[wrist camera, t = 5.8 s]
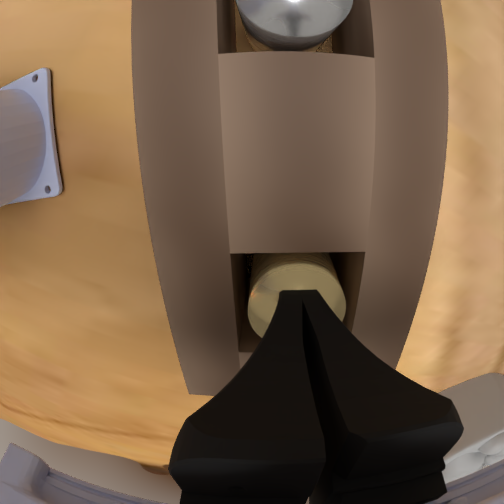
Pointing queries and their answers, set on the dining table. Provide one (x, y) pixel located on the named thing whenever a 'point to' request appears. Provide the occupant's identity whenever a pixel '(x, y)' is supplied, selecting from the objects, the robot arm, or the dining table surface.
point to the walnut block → (288, 167)
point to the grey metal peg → (291, 23)
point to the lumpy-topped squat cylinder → (476, 425)
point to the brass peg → (290, 283)
